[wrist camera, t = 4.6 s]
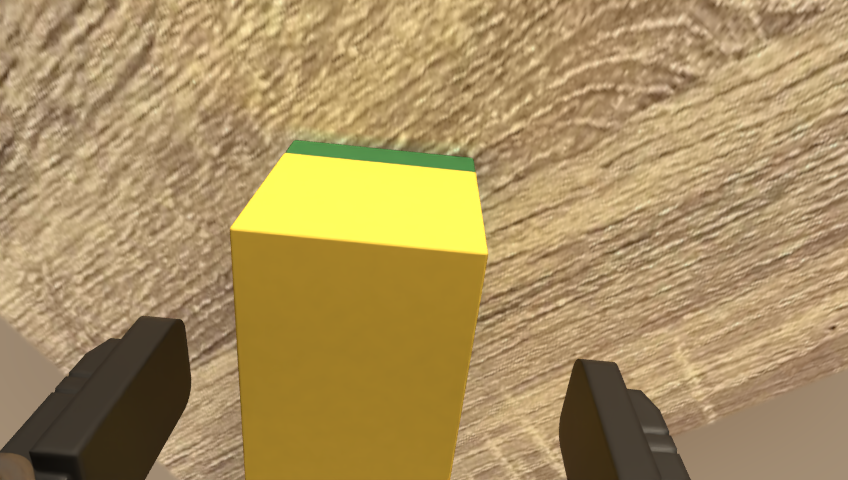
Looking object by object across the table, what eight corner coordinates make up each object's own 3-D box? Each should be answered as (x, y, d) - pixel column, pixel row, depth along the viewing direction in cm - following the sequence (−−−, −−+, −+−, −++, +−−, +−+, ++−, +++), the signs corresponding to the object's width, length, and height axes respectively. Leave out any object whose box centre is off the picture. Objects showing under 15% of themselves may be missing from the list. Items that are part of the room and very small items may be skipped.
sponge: (294, 361, 18) (245, 503, 13) (293, 139, 14) (227, 227, 10) (442, 375, 18) (443, 520, 13) (474, 157, 15) (488, 253, 10)
